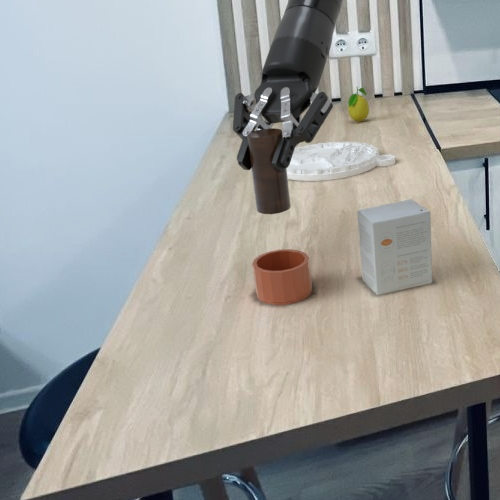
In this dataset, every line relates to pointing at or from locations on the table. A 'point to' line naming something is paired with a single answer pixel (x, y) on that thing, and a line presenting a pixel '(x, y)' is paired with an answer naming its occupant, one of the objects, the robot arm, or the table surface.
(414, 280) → the small box
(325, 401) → the table surface
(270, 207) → the peg
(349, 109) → the lemon
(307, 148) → the medallion
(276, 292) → the socket cup
